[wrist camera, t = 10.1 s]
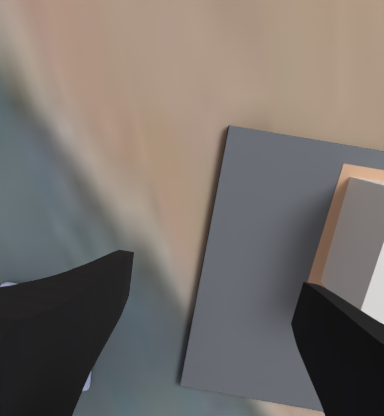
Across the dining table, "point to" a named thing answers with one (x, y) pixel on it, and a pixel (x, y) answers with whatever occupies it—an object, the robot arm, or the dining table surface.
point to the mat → (267, 261)
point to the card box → (359, 249)
